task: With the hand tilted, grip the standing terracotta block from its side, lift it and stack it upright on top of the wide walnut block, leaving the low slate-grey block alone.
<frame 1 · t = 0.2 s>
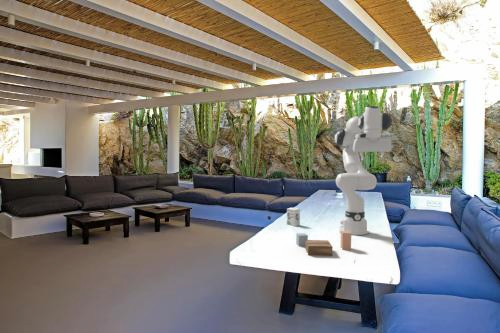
hand: (371, 160, 189), 48 cm above the table, tool pointing down, fingers open, 8 cm apart
terracotta block: (345, 248, 185), on the table
walnut block: (318, 252, 177), on the table
slate grey block: (301, 245, 191), on the table
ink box: (293, 225, 244), on the table
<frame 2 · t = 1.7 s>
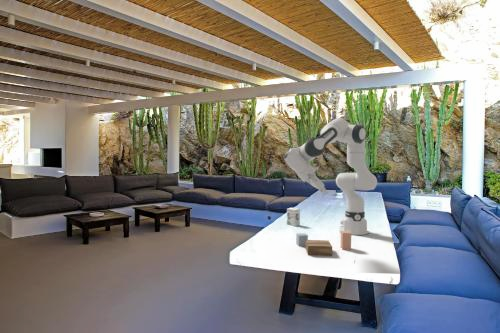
hand: (325, 192, 184), 30 cm above the table, tool tilted 45°, fingers open, 8 cm apart
nothing on the table moved.
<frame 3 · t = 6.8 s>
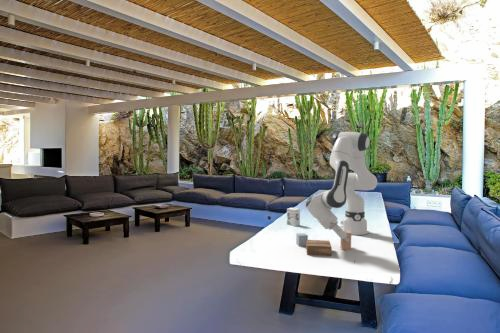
hand: (347, 239, 185), 5 cm above the table, tool tilted 45°, fingers closed on terracotta block, 4 cm apart
terracotta block: (345, 248, 185), on the table, touching gripper
everything else where it was.
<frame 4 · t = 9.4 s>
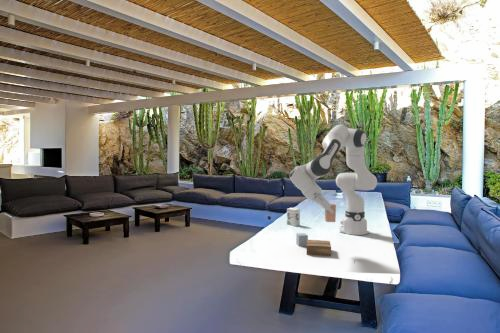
hand: (331, 211, 179), 21 cm above the table, tool tilted 45°, fingers closed on terracotta block, 4 cm apart
terracotta block: (330, 221, 179), point 16 cm above the table, touching gripper
everything else where it was.
when the fingers open (11 cm above the table, at t = 12.2 s): terracotta block drops 2 cm, point 5 cm above the table.
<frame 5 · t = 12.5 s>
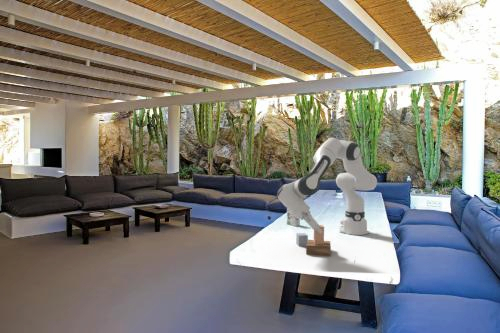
hand: (320, 230, 177), 11 cm above the table, tool tilted 45°, fingers open, 8 cm apart
terracotta block: (318, 243, 177), point 5 cm above the table
everything else where it was.
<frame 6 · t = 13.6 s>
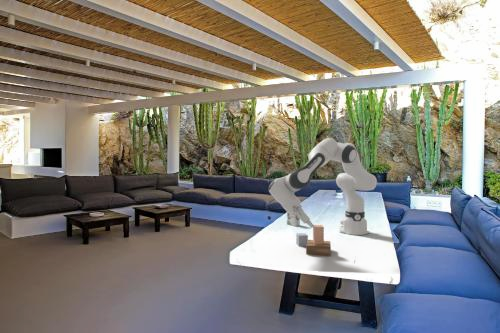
hand: (311, 224, 176), 14 cm above the table, tool tilted 45°, fingers open, 8 cm apart
nothing on the table moved.
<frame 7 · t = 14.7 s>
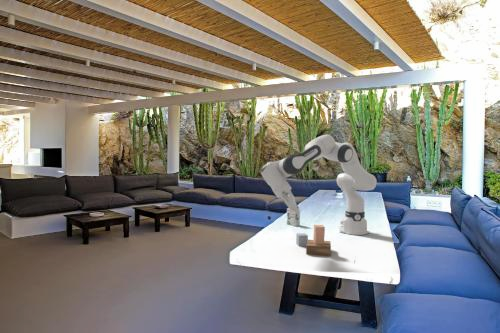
hand: (298, 211, 178), 21 cm above the table, tool tilted 35°, fingers open, 8 cm apart
nothing on the table moved.
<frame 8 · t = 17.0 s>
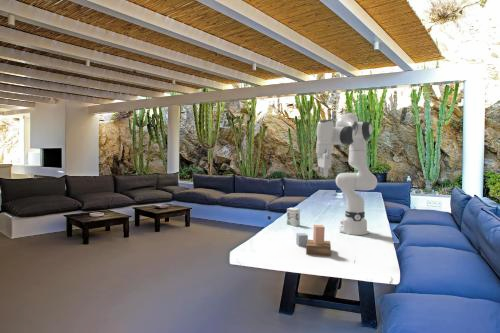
hand: (324, 176, 182), 39 cm above the table, tool pointing down, fingers open, 8 cm apart
terracotta block: (318, 243, 177), point 5 cm above the table, touching walnut block
walnut block: (318, 252, 177), on the table, touching terracotta block
everything else where it was.
at the end: terracotta block inside the target area on the walnut block (0.1 cm from its centre), point 5.1 cm above the walnut block's base; terracotta block tilted 1°; the gripper is holding nothing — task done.
